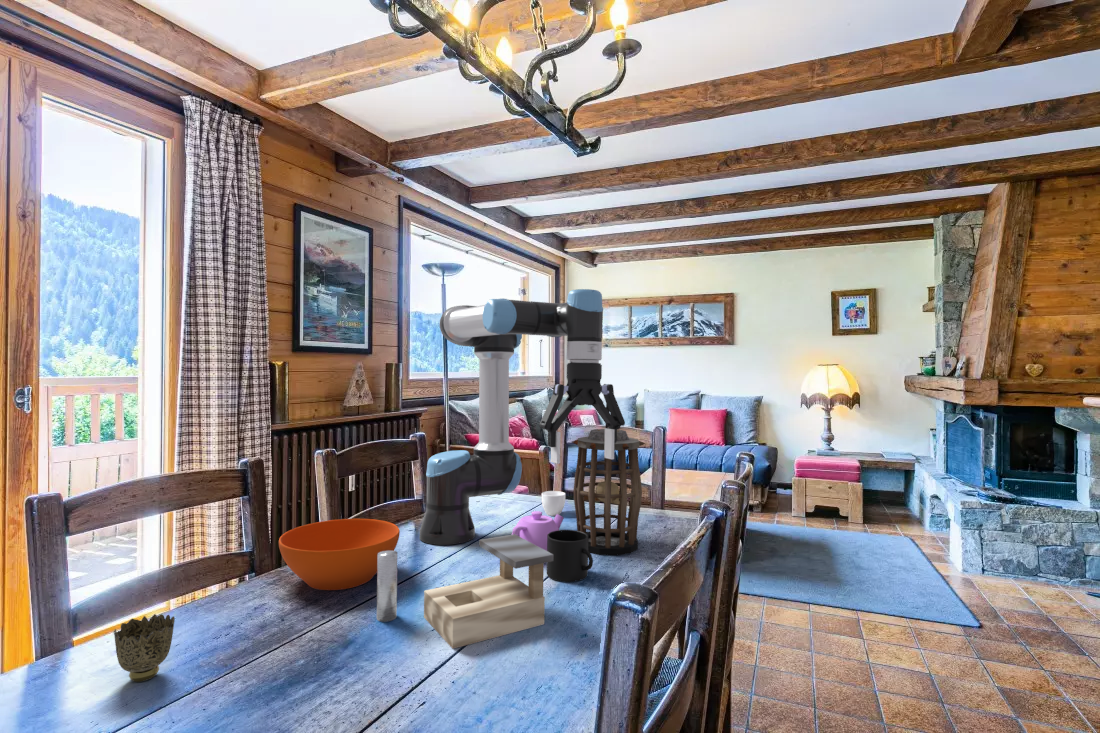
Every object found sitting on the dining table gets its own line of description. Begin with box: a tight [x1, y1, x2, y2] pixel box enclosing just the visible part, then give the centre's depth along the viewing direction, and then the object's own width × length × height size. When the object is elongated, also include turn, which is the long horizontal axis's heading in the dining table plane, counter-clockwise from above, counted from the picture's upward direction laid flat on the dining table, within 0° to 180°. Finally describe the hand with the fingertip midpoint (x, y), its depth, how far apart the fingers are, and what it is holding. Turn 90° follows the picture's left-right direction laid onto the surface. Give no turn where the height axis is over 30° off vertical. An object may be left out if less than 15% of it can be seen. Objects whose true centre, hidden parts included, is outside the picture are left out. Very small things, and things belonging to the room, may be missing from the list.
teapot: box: [511, 510, 564, 551], centre depth 145 cm, size 14×20×11 cm
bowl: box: [278, 518, 401, 591], centre depth 126 cm, size 25×25×10 cm
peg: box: [376, 550, 398, 623], centre depth 107 cm, size 4×4×12 cm
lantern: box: [571, 402, 646, 557], centre depth 152 cm, size 19×19×40 cm
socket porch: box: [423, 533, 554, 650], centre depth 106 cm, size 15×20×13 cm
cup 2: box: [113, 613, 176, 683], centre depth 85 cm, size 8×7×8 cm
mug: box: [546, 529, 594, 583], centre depth 129 cm, size 9×12×9 cm
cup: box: [541, 490, 566, 517], centre depth 185 cm, size 8×10×7 cm
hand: (582, 460), depth 122 cm, fingers open, 13 cm apart
